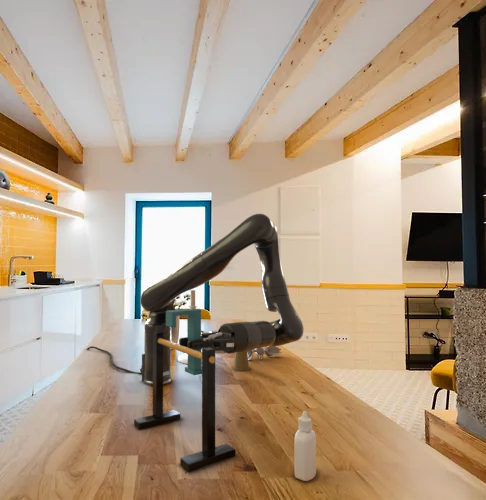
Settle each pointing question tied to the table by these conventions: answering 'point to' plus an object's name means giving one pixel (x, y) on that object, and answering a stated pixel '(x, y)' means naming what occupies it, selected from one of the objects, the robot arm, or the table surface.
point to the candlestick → (184, 357)
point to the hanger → (189, 334)
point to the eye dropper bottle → (305, 449)
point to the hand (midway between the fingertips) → (184, 344)
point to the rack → (209, 450)
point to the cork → (241, 361)
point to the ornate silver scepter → (260, 352)
